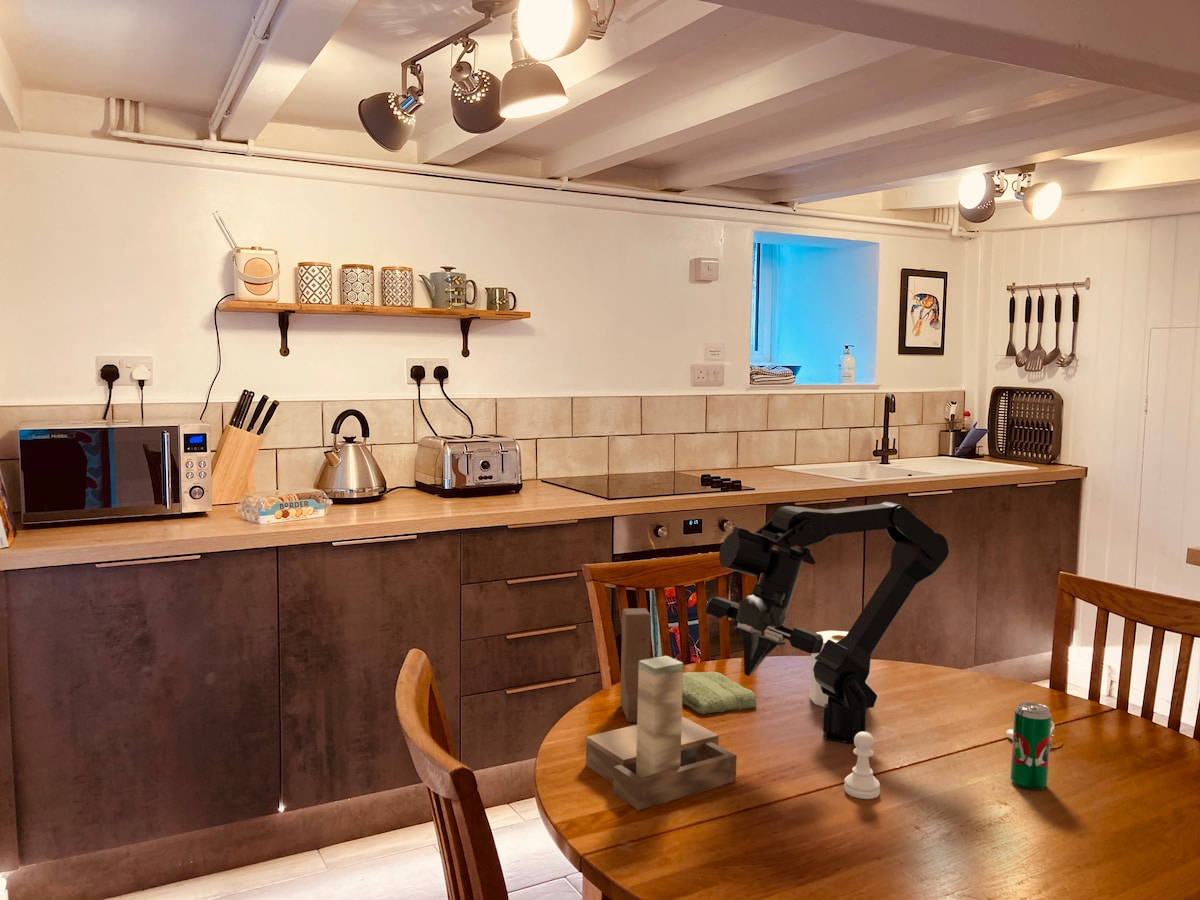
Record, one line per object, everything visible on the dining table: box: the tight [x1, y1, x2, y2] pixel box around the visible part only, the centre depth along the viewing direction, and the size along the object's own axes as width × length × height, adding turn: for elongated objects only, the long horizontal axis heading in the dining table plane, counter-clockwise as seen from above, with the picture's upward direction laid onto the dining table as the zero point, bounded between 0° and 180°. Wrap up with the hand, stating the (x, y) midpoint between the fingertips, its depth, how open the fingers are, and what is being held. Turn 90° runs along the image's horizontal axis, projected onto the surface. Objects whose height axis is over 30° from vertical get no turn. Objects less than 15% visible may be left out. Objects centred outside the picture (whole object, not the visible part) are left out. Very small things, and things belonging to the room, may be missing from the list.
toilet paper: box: [809, 630, 869, 708], centre depth 175 cm, size 10×10×12 cm
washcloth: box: [682, 671, 758, 715], centre depth 176 cm, size 13×18×3 cm
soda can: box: [1010, 701, 1052, 791], centre depth 141 cm, size 5×5×12 cm
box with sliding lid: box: [585, 715, 737, 811], centre depth 142 cm, size 20×16×5 cm
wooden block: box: [619, 607, 652, 724], centre depth 166 cm, size 9×4×18 cm, turn 7°
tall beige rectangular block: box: [636, 655, 684, 778], centre depth 136 cm, size 5×4×19 cm
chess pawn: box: [843, 731, 881, 800], centre depth 137 cm, size 5×5×9 cm
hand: (747, 675), depth 151 cm, fingers closed
